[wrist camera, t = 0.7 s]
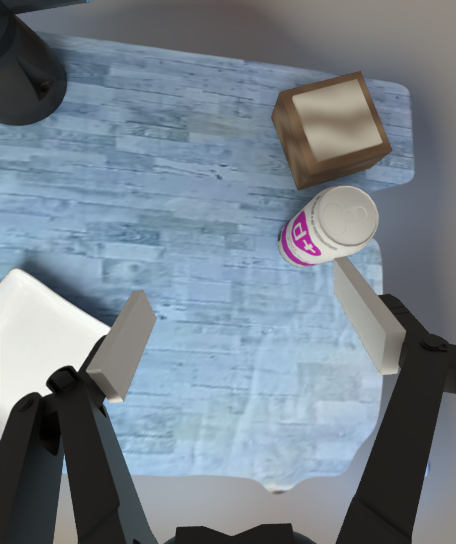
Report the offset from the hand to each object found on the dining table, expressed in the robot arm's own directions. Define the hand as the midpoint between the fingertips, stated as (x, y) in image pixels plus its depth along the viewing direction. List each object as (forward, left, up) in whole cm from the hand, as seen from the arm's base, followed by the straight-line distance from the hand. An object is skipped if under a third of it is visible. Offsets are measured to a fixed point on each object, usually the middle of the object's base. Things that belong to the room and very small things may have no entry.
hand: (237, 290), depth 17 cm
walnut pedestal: (-20, +25, -23) cm, 40 cm away
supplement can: (-4, +15, -24) cm, 28 cm away
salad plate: (+1, -29, -24) cm, 38 cm away
